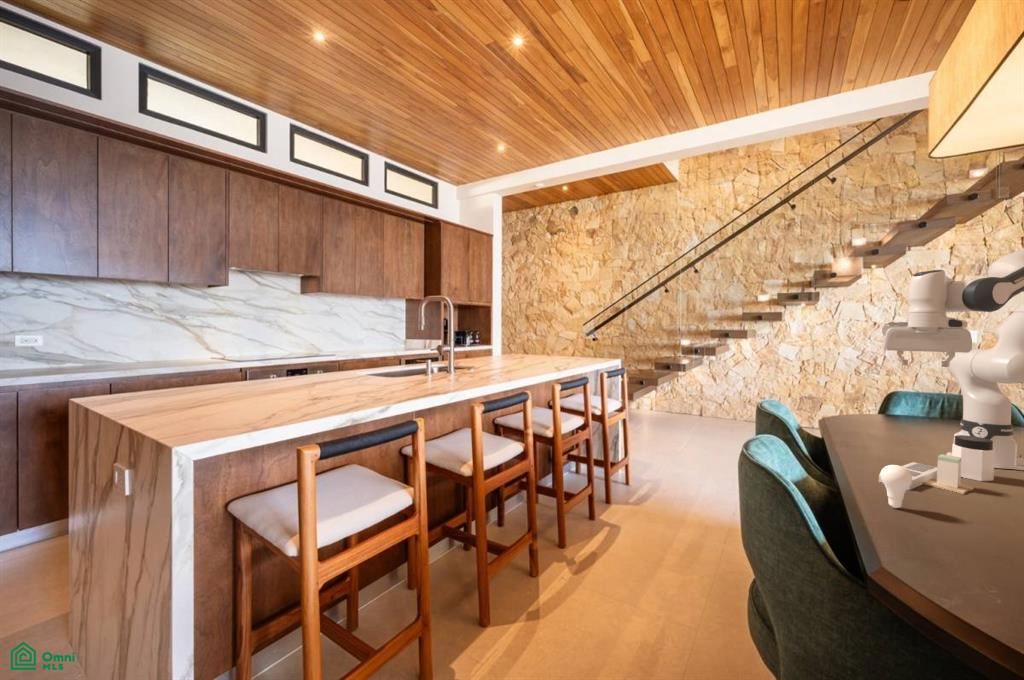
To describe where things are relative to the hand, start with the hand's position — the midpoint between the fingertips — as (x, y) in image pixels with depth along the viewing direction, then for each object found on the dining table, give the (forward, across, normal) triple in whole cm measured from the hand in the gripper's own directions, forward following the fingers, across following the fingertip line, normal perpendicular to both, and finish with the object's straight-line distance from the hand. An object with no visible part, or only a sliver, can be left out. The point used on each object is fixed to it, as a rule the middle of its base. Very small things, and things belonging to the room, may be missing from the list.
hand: (924, 366), depth 135 cm
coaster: (+34, +4, -11) cm, 36 cm away
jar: (+34, +12, +5) cm, 37 cm away
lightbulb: (+34, -11, -40) cm, 54 cm away
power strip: (+34, -3, -7) cm, 35 cm away
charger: (+34, +4, -11) cm, 35 cm away
